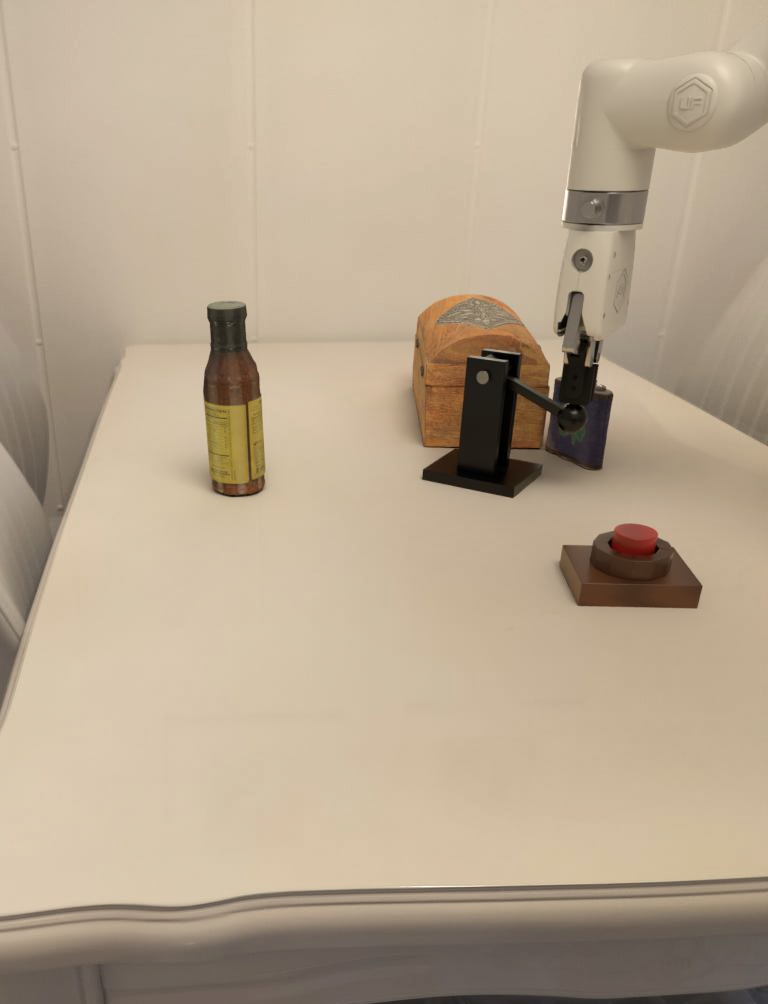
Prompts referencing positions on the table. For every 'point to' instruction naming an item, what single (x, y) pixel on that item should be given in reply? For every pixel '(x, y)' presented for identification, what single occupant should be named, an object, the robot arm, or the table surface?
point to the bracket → (486, 432)
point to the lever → (550, 405)
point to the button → (634, 539)
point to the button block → (628, 576)
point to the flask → (583, 431)
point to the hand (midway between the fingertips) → (575, 402)
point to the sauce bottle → (233, 404)
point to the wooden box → (443, 357)
